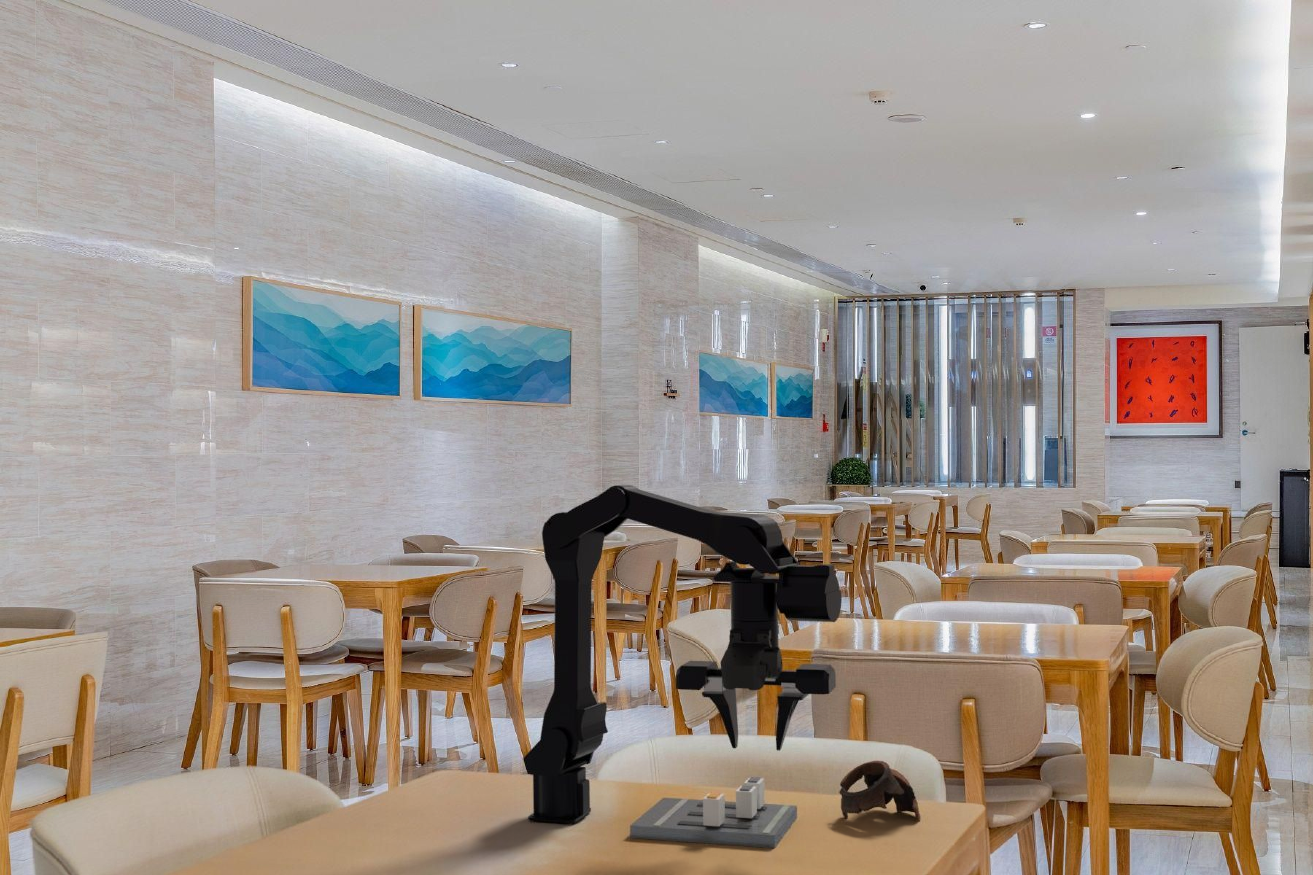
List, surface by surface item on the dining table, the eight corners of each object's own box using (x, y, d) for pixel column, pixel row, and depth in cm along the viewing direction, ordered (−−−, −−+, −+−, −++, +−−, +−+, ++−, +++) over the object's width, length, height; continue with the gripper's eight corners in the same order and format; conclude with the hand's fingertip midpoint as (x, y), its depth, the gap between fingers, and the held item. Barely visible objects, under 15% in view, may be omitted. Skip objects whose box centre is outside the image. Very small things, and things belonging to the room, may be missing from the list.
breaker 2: (744, 807, 160) (744, 781, 160) (749, 802, 163) (749, 776, 163) (759, 808, 160) (759, 781, 160) (764, 803, 162) (764, 776, 162)
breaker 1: (703, 825, 153) (702, 796, 153) (709, 819, 155) (708, 791, 155) (719, 826, 152) (718, 797, 152) (725, 820, 155) (724, 792, 155)
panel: (630, 837, 154) (630, 824, 154) (663, 808, 167) (663, 796, 168) (774, 847, 149) (774, 834, 149) (797, 817, 162) (796, 804, 162)
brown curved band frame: (931, 832, 156) (901, 778, 155) (863, 863, 158) (832, 810, 157) (917, 784, 168) (889, 734, 167) (854, 814, 170) (825, 764, 168)
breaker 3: (736, 817, 156) (735, 789, 156) (741, 811, 159) (740, 784, 159) (752, 818, 155) (751, 790, 155) (756, 812, 158) (756, 785, 158)
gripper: (661, 625, 148) (663, 759, 147) (819, 628, 142) (822, 767, 142) (687, 615, 159) (689, 740, 158) (835, 617, 153) (837, 747, 153)
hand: (756, 748), depth 152 cm, fingers open, 5 cm apart
